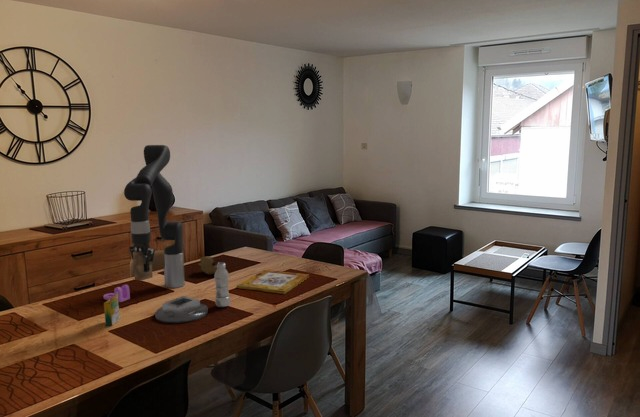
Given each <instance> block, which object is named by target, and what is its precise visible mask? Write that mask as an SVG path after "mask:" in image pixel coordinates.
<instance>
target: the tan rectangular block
mask: <svg viewBox="0 0 640 417" xmlns="http://www.w3.org/2000/svg"><path fill="white" fill-rule="evenodd" d="M147 255H148V253H147ZM147 255H144V256H147ZM146 260H147V257H146ZM132 261H133V276H134V280H135V281H140V282H142V281H145V280H148V279H151V278H153V262H150V263H149V266H150V270H149V272H144V262H143V258H142V252H139V251H133V259H132Z"/></svg>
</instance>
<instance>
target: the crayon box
mask: <svg viewBox="0 0 640 417" xmlns="http://www.w3.org/2000/svg"><path fill="white" fill-rule="evenodd" d="M114 297H116V298H114ZM103 310H104V321H105V323H104V324H105V326H106V327H113V326H114V325H115V324H116V323H118V322H119V321H120V320H121V318H120V315H121V314H120V306H119V302H118V293H117V294H116V295H115V296H113V297H112V298H110V299H109V300H106V301H105V302H103Z"/></svg>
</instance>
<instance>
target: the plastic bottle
mask: <svg viewBox="0 0 640 417" xmlns="http://www.w3.org/2000/svg"><path fill="white" fill-rule="evenodd" d="M216 265H217V268H218V269H217V271H216V272H215V274H213V276H214V277H213V278H214V283H215V290H216V291H215V302H214V303H215V305H216V307H218V308H226V307H228V306H229V305H230V302H231V298H230V294H229V276H230V275H229V274H230V273H229V272H228V270H227V268H226V262H224V261H223V262H222V261H221V262H218V263H217V264H216Z"/></svg>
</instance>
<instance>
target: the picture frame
mask: <svg viewBox="0 0 640 417" xmlns="http://www.w3.org/2000/svg"><path fill="white" fill-rule="evenodd" d="M307 278H308V279H309V278H310V274H309V273H308V274H307V273H306V274H305V273H297V272H289V271H280V270H271V269H264V270H262V271H260V272H258V273H256V274H255V275H253V276H251V277H249V278H247V279H245V280H243V281H241V282H240V283H238V284H236V288H237V289H241V290H242V289H243V290H251V291H256V292H257V291H258V292H264V293H265V292H267V293H274V294H281V295H282V294H283V295H285V294H288V292H289V291H292V290H293V289H294V288H296V287H297V286H299V285H300V284H302V283H303V282H305V281H306V280H307ZM304 280H305V281H304ZM301 282H302V283H301ZM298 284H299V285H298Z"/></svg>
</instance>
